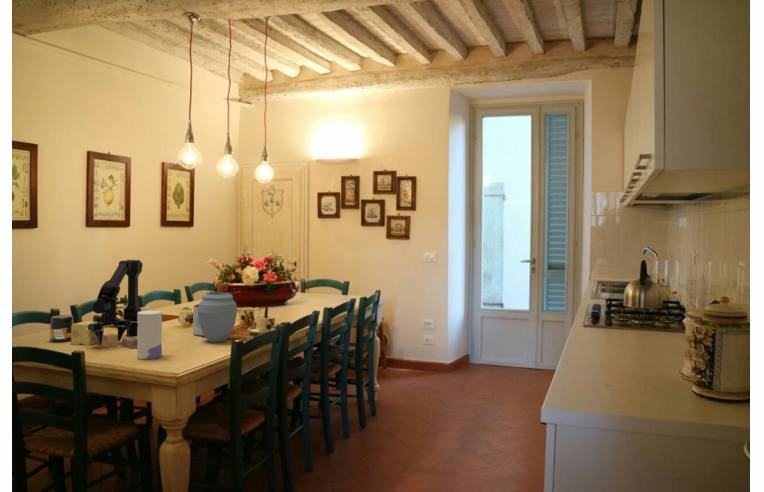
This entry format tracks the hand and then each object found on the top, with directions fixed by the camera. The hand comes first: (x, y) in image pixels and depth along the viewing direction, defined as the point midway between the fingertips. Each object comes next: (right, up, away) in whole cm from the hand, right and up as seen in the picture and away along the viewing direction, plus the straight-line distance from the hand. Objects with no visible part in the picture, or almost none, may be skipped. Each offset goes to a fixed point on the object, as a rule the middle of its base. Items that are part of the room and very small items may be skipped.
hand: (109, 342), depth 274 cm
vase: (+48, -2, +15) cm, 50 cm away
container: (+28, -3, -22) cm, 35 cm away
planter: (+38, -1, +32) cm, 50 cm away
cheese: (-13, -1, +4) cm, 14 cm away
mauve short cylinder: (+12, -2, -1) cm, 13 cm away
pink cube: (0, -1, 0) cm, 1 cm away
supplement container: (-27, -1, +8) cm, 28 cm away
